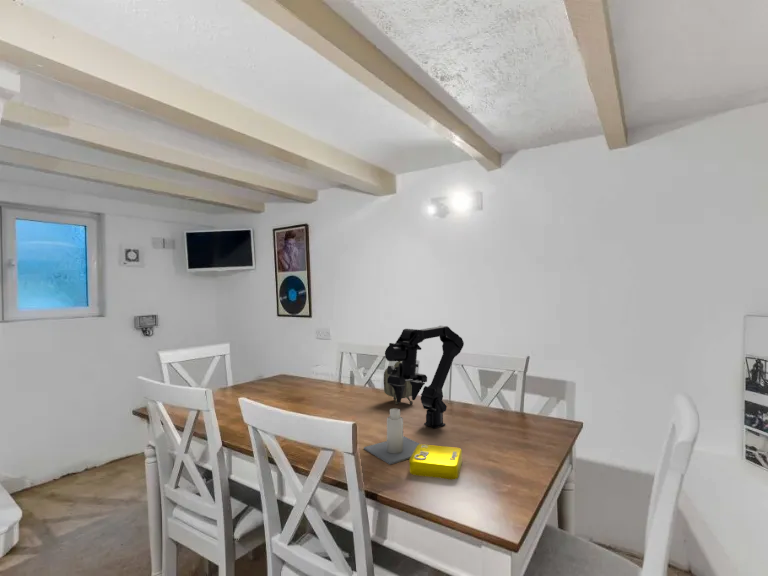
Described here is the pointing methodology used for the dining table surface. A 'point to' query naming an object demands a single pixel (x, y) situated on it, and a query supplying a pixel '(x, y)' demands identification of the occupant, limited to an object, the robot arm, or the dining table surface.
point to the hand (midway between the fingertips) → (406, 401)
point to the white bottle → (394, 432)
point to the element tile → (436, 461)
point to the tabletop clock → (390, 390)
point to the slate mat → (390, 458)
